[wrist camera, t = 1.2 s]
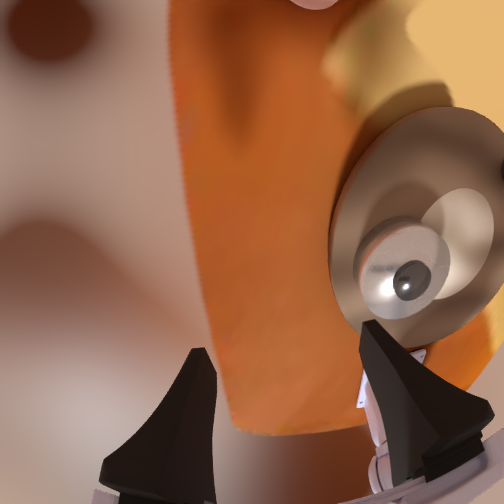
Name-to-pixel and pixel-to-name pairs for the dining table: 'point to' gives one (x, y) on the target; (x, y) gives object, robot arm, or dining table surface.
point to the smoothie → (314, 4)
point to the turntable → (428, 215)
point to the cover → (400, 267)
